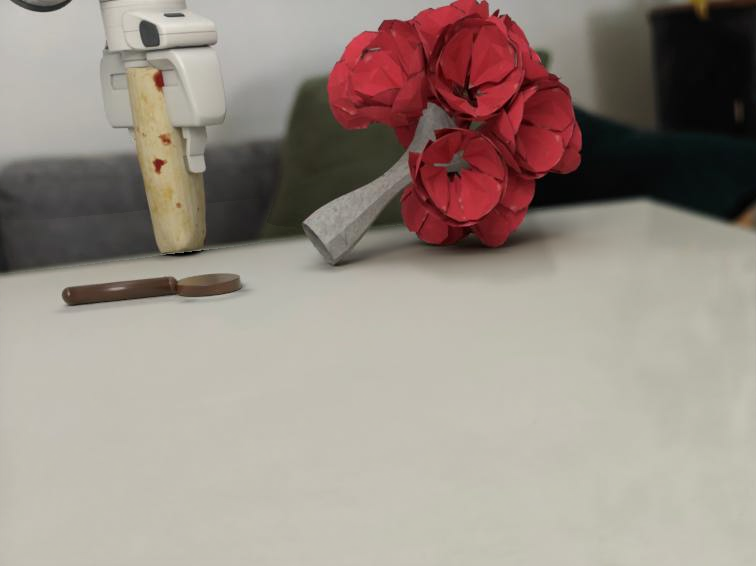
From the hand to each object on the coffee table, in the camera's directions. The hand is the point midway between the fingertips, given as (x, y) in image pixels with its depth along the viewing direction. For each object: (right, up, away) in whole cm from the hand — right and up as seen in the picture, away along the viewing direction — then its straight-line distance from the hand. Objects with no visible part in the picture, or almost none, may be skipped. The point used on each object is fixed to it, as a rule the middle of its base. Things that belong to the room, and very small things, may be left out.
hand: (173, 171), depth 126 cm
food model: (0, -8, +4) cm, 9 cm away
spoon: (+3, -20, -21) cm, 29 cm away
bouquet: (+30, -11, -7) cm, 33 cm away
